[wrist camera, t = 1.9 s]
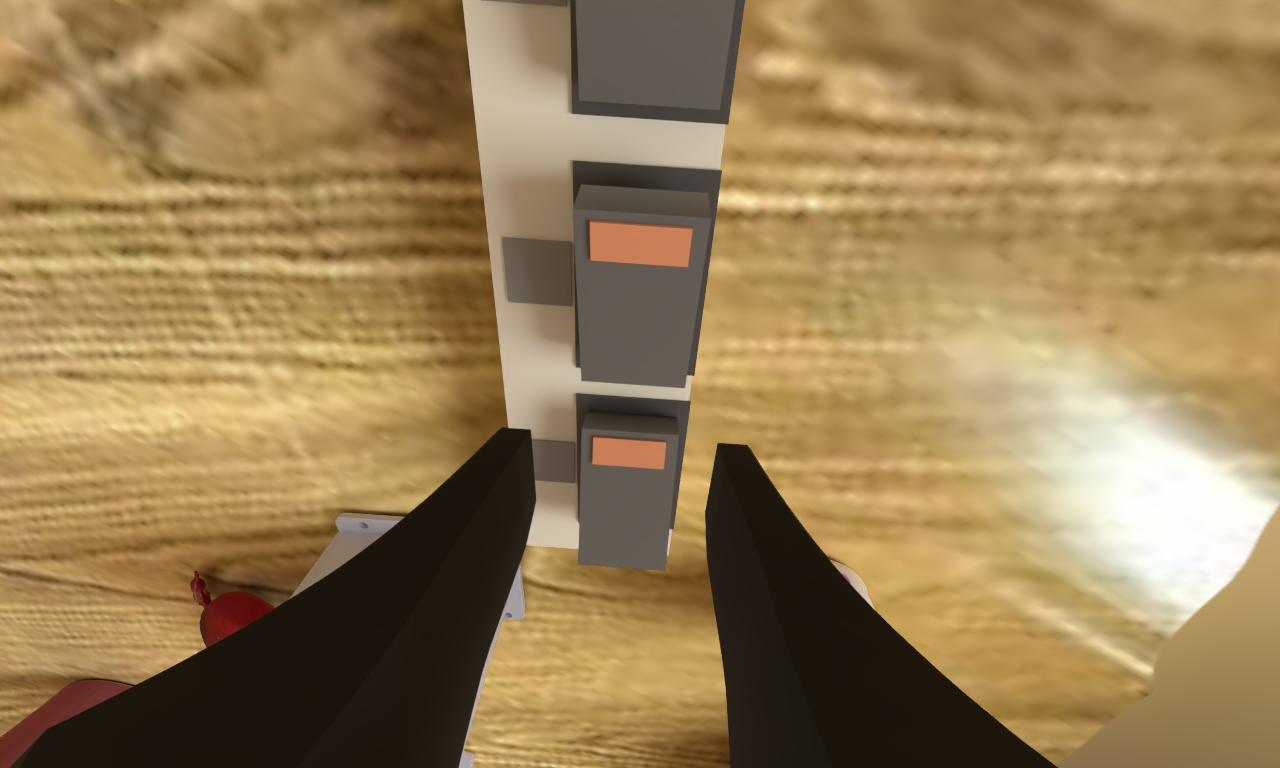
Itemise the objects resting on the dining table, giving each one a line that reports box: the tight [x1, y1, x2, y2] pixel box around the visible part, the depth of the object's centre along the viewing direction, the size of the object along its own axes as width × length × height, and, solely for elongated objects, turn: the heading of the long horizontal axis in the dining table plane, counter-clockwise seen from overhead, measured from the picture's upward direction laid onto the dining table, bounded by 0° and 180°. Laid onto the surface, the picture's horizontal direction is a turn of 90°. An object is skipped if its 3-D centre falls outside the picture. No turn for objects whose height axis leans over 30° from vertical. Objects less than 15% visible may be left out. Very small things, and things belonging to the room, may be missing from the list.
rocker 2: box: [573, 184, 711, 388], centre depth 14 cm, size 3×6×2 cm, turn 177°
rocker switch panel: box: [463, 0, 745, 556], centre depth 16 cm, size 6×25×4 cm, turn 177°
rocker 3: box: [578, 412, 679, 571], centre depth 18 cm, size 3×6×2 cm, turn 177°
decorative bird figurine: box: [190, 571, 275, 648], centre depth 30 cm, size 3×18×10 cm
